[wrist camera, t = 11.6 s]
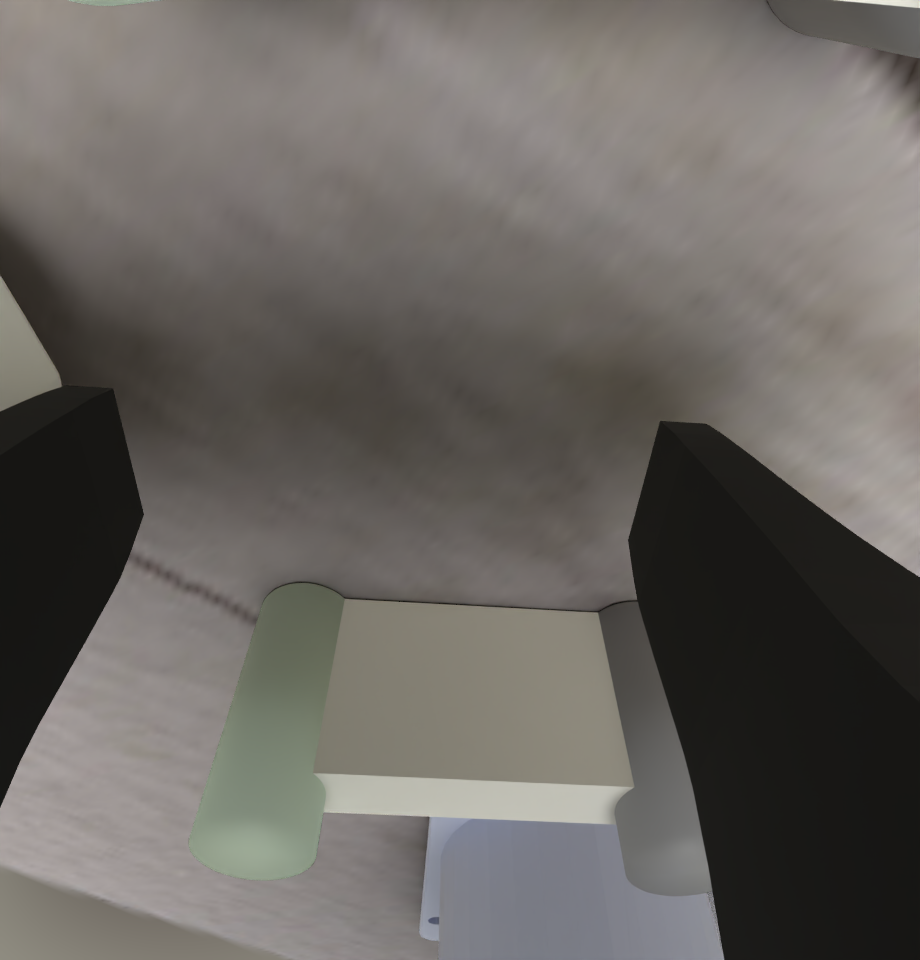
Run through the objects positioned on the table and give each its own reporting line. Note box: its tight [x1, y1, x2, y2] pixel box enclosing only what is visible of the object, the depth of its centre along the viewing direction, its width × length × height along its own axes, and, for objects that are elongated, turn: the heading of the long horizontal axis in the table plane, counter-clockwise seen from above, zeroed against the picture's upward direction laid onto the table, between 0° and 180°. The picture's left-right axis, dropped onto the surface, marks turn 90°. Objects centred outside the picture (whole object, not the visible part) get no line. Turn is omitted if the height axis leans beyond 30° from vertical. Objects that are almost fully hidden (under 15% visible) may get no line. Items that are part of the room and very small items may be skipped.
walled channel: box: [69, 0, 920, 896], centre depth 10 cm, size 14×9×5 cm, turn 176°
